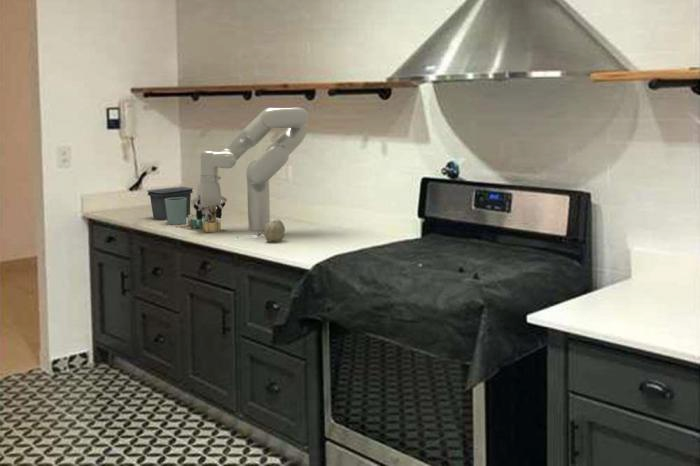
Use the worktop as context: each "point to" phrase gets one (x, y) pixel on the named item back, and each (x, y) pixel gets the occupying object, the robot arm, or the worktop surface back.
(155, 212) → the storage bin
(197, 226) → the gear board
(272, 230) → the tan rounded piece
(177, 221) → the grey green cup
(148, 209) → the worktop surface
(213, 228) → the brass gear
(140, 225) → the worktop surface
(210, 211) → the coffee box
